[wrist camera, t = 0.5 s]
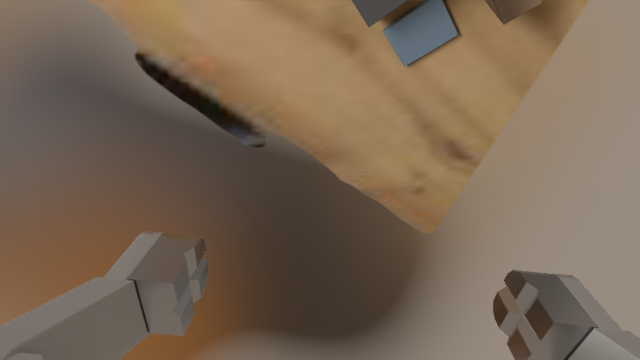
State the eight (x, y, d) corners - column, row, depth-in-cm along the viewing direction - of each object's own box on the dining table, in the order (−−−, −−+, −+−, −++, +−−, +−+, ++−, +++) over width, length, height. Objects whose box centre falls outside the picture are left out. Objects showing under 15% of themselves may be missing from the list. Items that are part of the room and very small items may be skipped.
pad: (438, -9, 46) (439, -7, 45) (456, 32, 49) (458, 34, 49) (383, 29, 50) (383, 31, 50) (404, 63, 54) (404, 66, 53)
